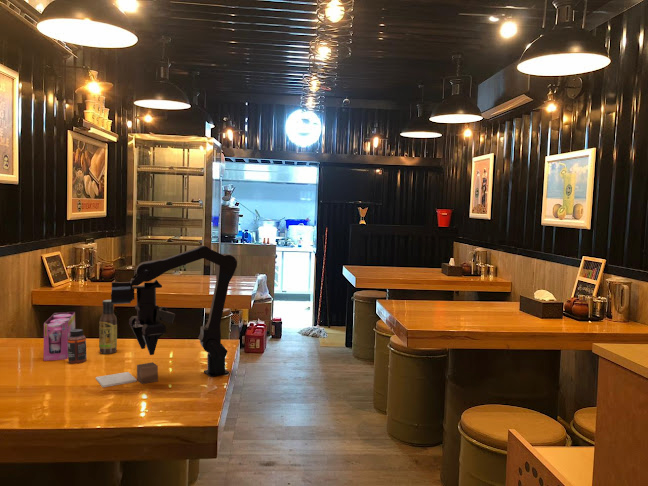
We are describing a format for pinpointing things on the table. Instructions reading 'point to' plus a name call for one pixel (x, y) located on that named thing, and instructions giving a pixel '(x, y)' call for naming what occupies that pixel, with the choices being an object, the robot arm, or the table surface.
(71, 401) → the table surface
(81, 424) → the table surface
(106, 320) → the sauce bottle
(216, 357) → the robot arm
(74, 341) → the supplement bottle
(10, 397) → the table surface
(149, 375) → the walnut cube
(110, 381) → the stone coaster
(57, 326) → the gum box
